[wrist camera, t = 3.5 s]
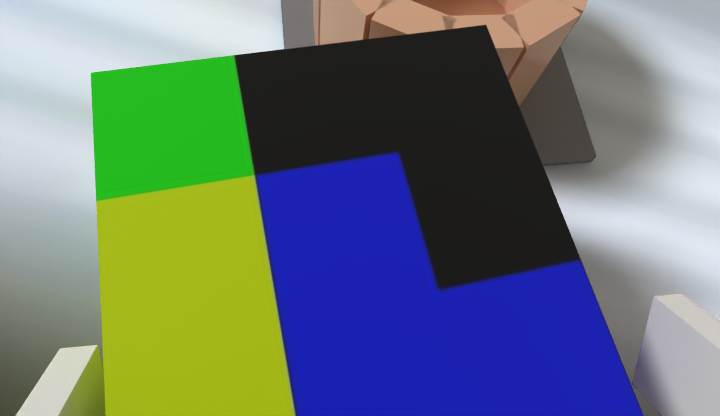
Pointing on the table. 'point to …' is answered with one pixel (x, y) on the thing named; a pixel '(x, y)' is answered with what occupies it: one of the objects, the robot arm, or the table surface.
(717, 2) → the table surface
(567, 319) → the puzzle toy
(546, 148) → the rubber mat
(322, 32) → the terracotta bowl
